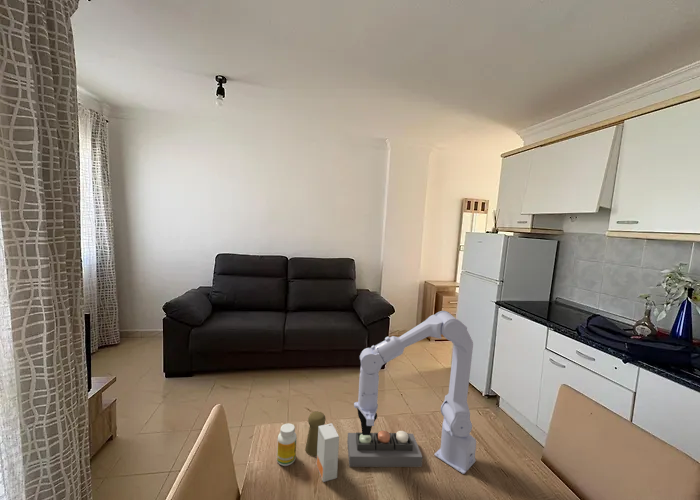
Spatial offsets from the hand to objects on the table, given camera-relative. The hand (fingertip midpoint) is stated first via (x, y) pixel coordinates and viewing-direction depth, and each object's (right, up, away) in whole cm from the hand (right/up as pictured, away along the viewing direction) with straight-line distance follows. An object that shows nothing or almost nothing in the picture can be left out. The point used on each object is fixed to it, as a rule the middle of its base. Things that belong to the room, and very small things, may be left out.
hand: (365, 433), depth 90 cm
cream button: (+11, -2, +1) cm, 11 cm away
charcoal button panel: (+5, -7, +1) cm, 8 cm away
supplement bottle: (-23, -5, -4) cm, 24 cm away
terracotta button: (+5, -2, +1) cm, 6 cm away
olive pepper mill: (-15, -6, +1) cm, 16 cm away
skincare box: (-11, -6, -7) cm, 15 cm away
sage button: (0, -3, 0) cm, 3 cm away
